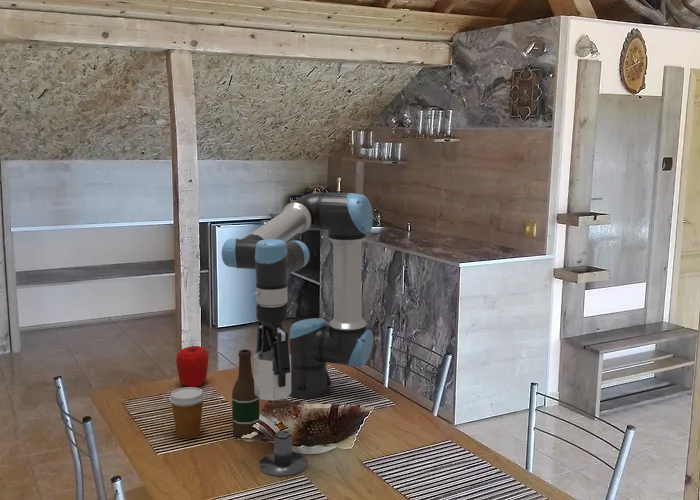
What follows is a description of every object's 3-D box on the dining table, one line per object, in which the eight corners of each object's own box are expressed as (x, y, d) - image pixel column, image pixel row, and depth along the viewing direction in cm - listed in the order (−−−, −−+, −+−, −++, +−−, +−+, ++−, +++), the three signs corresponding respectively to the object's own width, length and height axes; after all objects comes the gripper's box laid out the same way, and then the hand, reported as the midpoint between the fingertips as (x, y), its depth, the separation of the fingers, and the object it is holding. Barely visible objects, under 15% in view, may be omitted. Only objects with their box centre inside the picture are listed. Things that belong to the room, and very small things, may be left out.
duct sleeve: (281, 385, 181) (281, 347, 179) (295, 396, 173) (295, 357, 172) (250, 391, 177) (250, 352, 175) (263, 402, 169) (262, 362, 168)
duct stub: (294, 450, 186) (294, 419, 185) (315, 469, 176) (315, 436, 174) (251, 461, 180) (251, 429, 179) (271, 481, 170) (270, 447, 169)
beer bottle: (265, 430, 199) (264, 348, 195) (252, 441, 191) (251, 356, 187) (240, 426, 201) (238, 345, 197) (227, 437, 194) (225, 353, 190)
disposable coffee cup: (197, 442, 191) (196, 400, 189) (164, 439, 192) (163, 397, 190) (211, 428, 200) (210, 387, 198) (179, 425, 202) (178, 385, 200)
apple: (184, 378, 239) (182, 340, 237) (213, 380, 238) (212, 341, 235) (172, 390, 229) (170, 349, 226) (202, 391, 227) (201, 351, 225)
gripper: (241, 296, 179) (243, 381, 182) (274, 315, 160) (276, 410, 164) (269, 293, 182) (270, 376, 186) (304, 311, 164) (305, 404, 168)
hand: (273, 392), depth 175 cm, fingers closed on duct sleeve, 8 cm apart
